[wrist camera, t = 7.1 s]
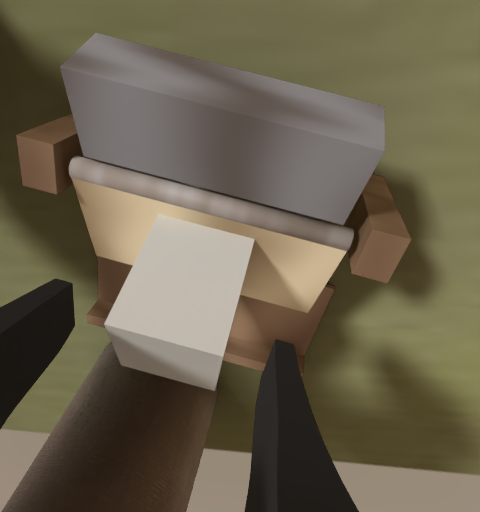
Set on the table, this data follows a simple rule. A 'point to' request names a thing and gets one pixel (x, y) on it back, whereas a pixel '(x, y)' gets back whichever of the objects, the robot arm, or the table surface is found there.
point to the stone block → (180, 302)
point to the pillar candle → (120, 445)
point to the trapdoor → (219, 160)
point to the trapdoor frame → (249, 309)
